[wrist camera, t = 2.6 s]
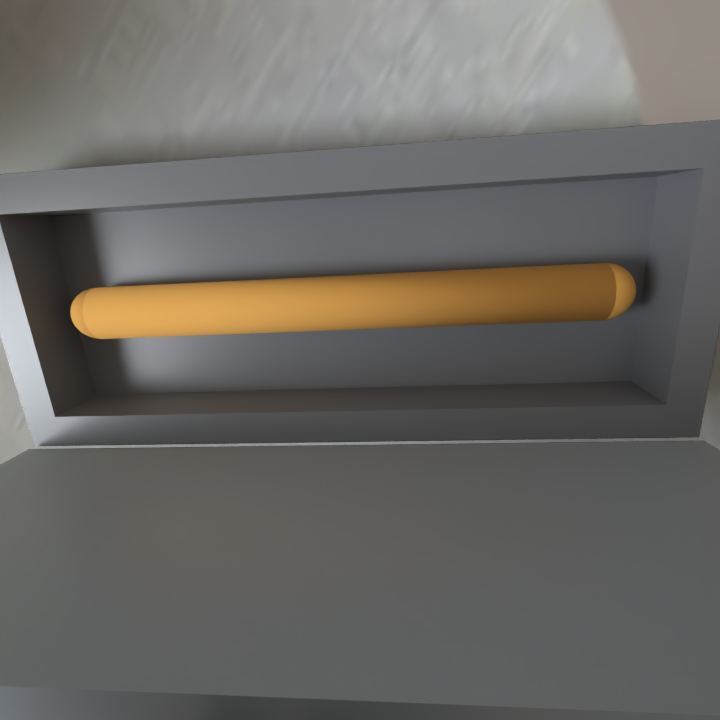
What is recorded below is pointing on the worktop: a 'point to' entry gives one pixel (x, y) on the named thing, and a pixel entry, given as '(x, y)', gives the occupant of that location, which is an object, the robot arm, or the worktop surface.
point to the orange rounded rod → (358, 302)
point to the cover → (362, 582)
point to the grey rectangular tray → (372, 256)
